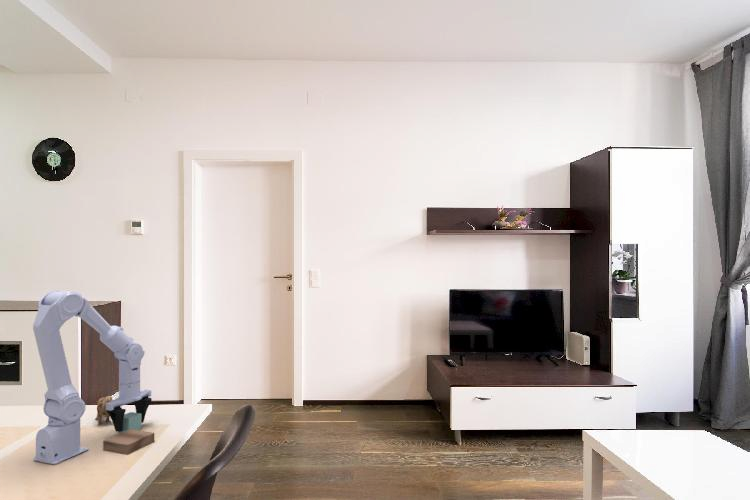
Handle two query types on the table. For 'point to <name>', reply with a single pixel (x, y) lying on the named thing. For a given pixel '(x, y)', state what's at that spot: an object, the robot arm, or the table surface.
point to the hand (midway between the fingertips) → (129, 426)
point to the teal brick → (131, 422)
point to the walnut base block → (128, 441)
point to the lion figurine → (103, 409)
